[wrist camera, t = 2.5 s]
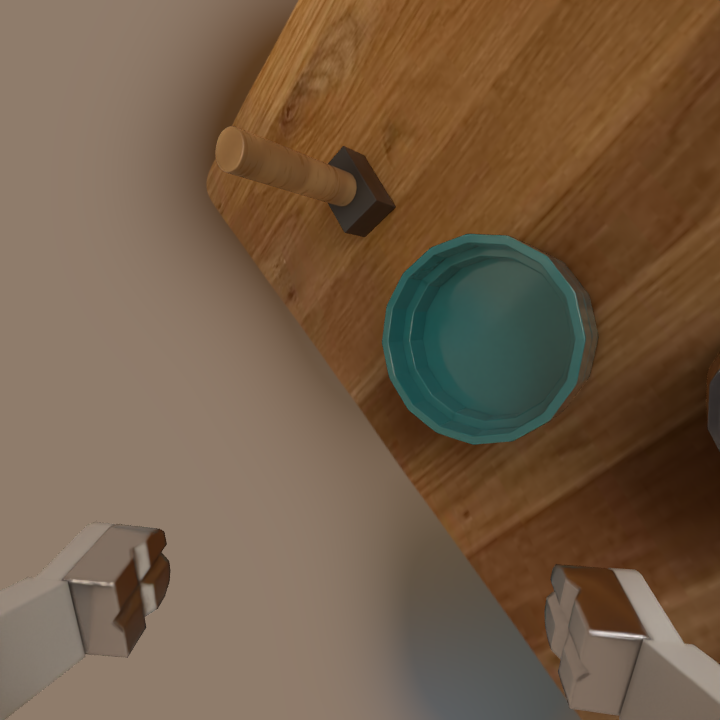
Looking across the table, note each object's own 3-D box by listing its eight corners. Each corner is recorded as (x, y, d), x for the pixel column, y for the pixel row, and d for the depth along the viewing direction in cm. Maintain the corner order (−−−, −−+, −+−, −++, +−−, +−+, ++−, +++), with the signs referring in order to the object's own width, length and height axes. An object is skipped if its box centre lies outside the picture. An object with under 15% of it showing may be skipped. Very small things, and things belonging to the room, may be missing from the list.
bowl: (399, 275, 40) (366, 271, 36) (572, 214, 32) (554, 200, 28) (433, 436, 40) (403, 450, 36) (618, 417, 31) (607, 433, 27)
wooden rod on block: (335, 186, 44) (196, 138, 31) (364, 155, 41) (226, 90, 29) (364, 237, 42) (230, 207, 30) (396, 207, 40) (265, 161, 28)
